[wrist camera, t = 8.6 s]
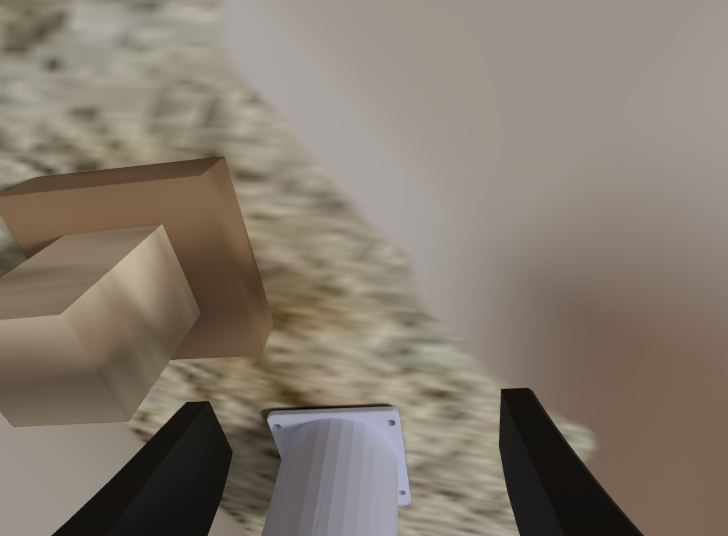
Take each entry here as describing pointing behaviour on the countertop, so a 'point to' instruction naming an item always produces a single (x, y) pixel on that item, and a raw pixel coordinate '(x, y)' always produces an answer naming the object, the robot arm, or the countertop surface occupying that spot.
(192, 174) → the walnut block
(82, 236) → the ash block
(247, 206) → the countertop surface
